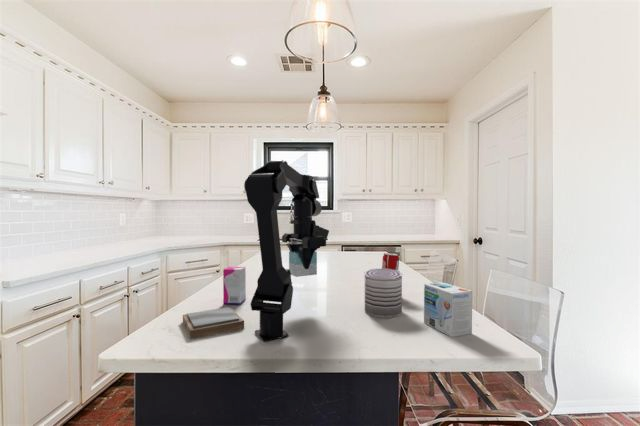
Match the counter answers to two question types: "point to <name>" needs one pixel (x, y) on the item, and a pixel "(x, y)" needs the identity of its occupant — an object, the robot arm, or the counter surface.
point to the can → (383, 292)
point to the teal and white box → (301, 264)
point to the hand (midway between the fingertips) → (302, 267)
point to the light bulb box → (448, 308)
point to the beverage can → (390, 261)
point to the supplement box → (234, 285)
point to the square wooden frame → (212, 322)
